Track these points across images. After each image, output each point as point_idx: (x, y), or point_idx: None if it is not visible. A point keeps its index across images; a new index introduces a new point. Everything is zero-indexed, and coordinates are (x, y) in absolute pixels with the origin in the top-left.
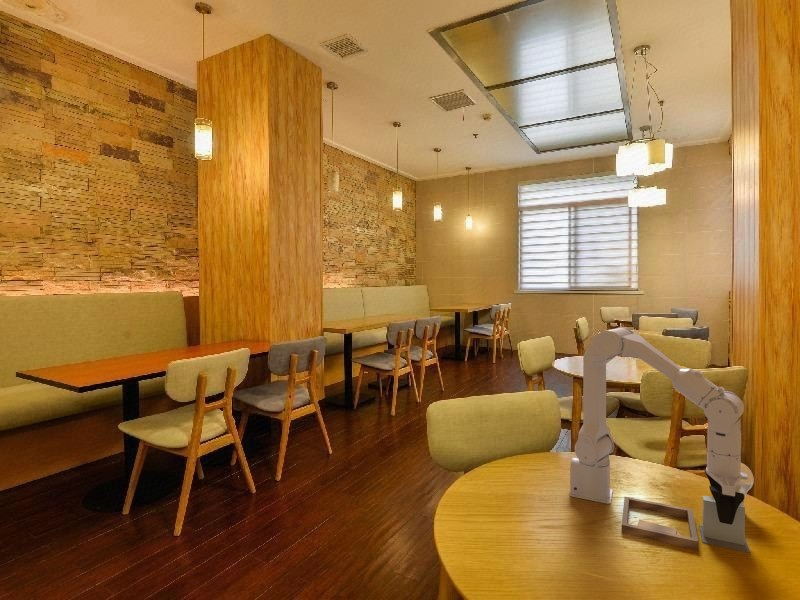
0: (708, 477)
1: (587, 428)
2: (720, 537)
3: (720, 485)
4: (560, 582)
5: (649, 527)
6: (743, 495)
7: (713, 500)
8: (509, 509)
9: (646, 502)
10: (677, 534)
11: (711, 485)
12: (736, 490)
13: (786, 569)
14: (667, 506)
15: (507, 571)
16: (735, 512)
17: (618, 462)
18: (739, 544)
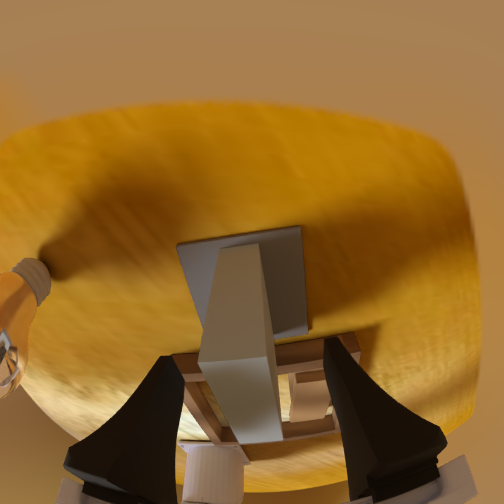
0: (174, 489)
1: None
2: (268, 307)
3: (158, 449)
4: (463, 398)
5: (317, 409)
6: (423, 452)
7: (265, 428)
8: (330, 469)
9: (210, 428)
10: (297, 372)
11: (174, 455)
12: (19, 318)
13: (339, 129)
14: (197, 407)
15: (448, 422)
16: (368, 377)
17: (63, 419)
18: (262, 256)
